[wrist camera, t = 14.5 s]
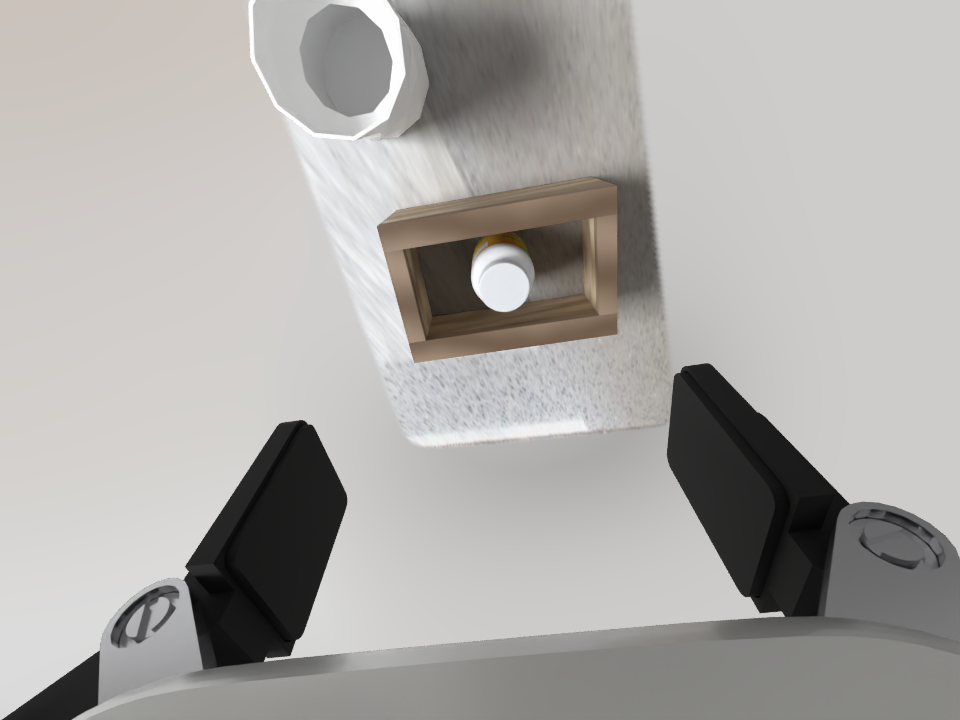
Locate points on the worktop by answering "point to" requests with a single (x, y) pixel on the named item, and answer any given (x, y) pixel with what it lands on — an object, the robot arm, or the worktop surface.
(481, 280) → the supplement bottle
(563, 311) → the wooden box
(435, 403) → the worktop surface
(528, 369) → the worktop surface
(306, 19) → the vase
